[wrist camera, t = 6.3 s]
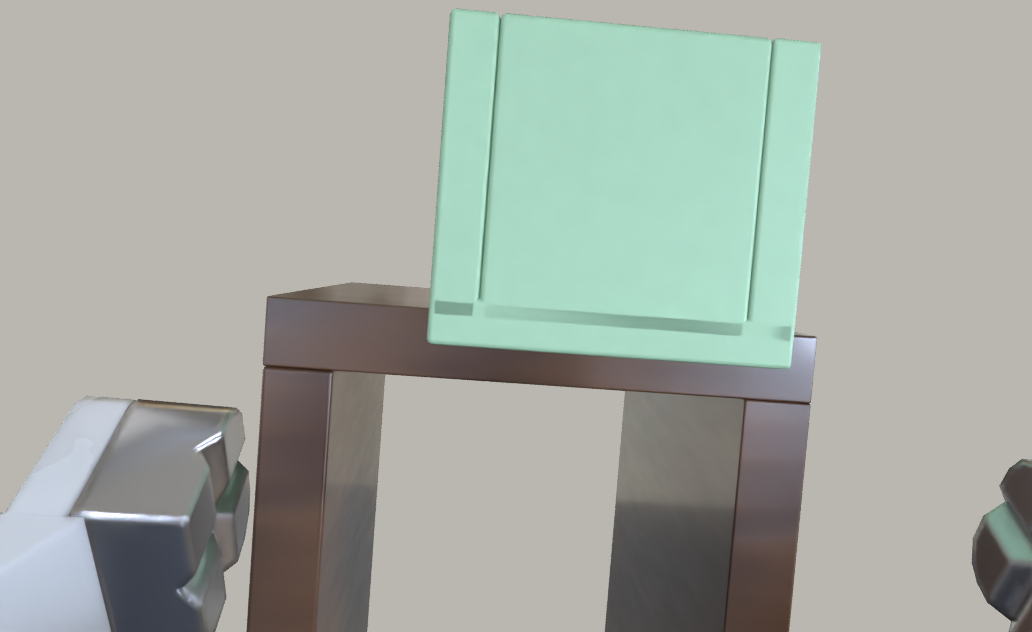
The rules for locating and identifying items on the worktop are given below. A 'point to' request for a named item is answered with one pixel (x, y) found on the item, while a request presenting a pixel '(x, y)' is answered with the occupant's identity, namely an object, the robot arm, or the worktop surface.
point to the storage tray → (621, 190)
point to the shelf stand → (647, 384)
